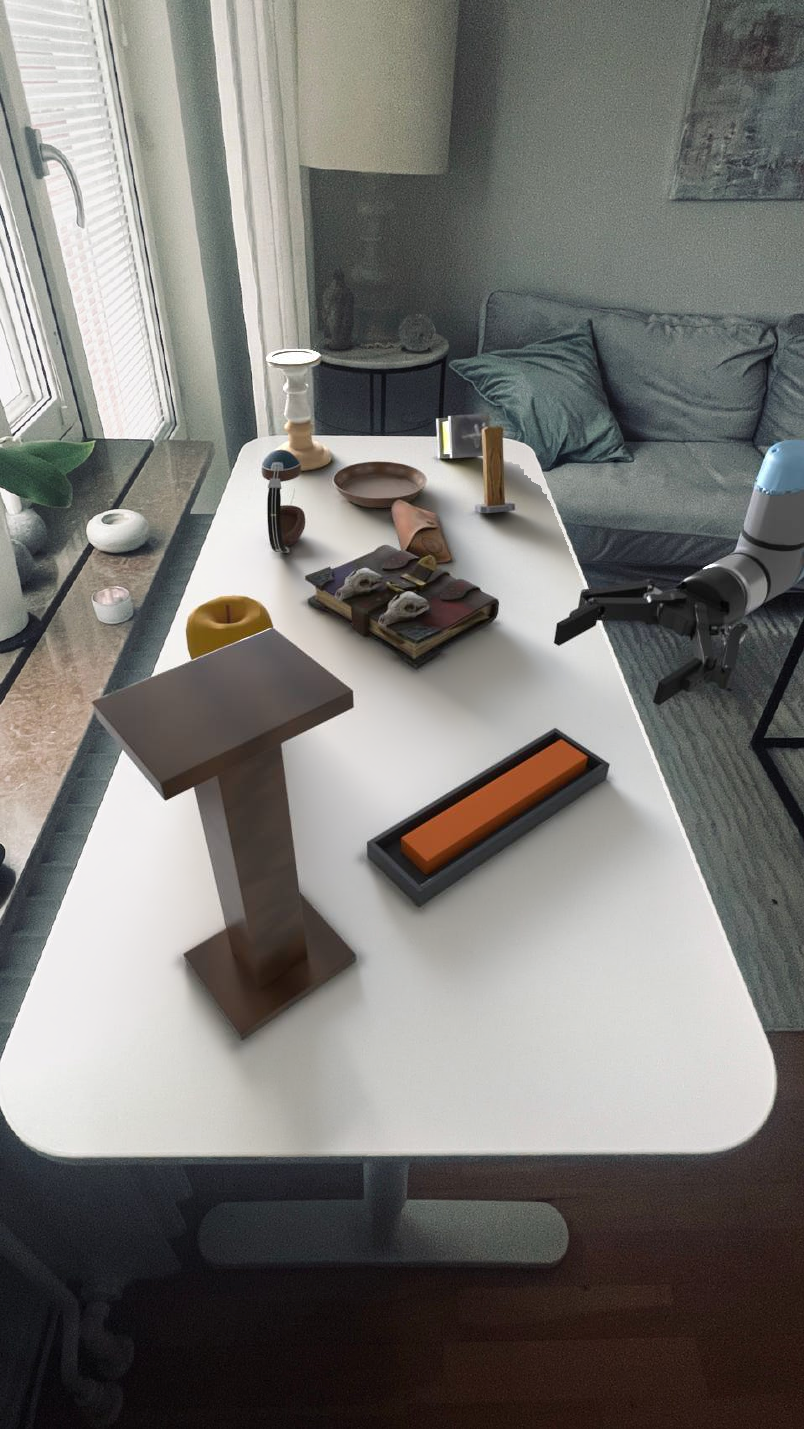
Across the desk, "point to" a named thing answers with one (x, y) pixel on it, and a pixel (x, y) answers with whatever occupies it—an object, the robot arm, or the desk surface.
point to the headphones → (281, 519)
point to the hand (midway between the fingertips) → (605, 663)
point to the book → (403, 602)
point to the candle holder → (299, 407)
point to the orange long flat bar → (492, 806)
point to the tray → (425, 887)
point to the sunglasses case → (419, 532)
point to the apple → (224, 623)
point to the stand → (241, 809)
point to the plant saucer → (379, 483)
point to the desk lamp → (477, 453)
